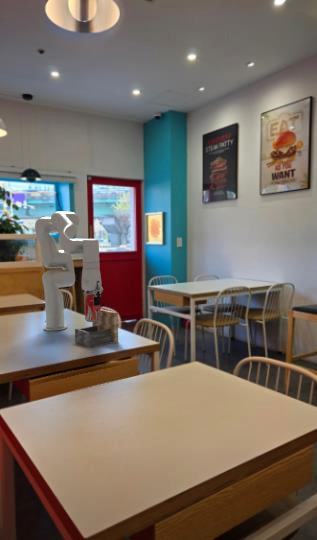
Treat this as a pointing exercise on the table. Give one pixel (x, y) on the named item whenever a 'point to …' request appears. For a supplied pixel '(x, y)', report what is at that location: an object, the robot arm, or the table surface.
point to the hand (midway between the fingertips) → (92, 304)
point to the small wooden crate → (99, 330)
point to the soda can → (91, 308)
